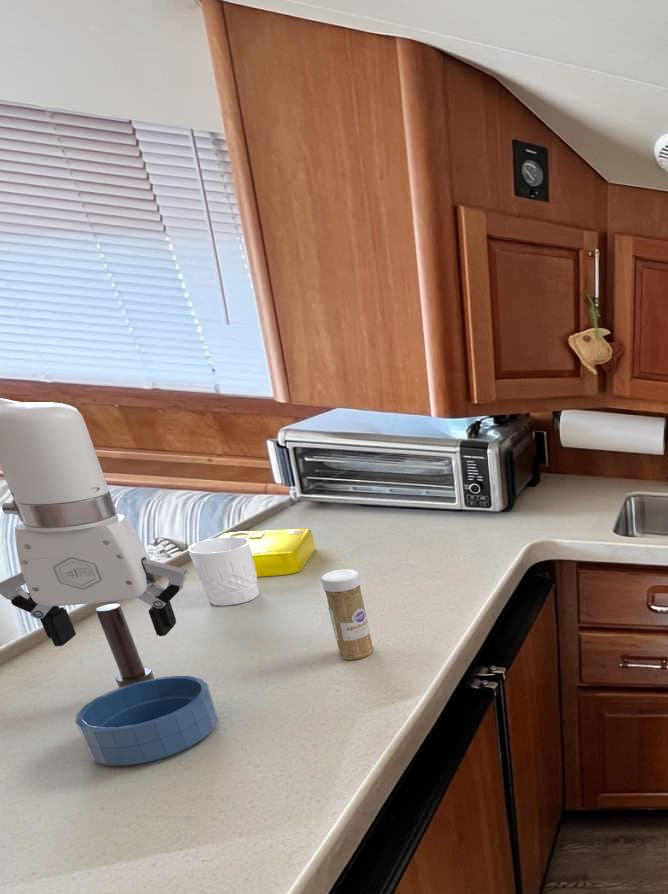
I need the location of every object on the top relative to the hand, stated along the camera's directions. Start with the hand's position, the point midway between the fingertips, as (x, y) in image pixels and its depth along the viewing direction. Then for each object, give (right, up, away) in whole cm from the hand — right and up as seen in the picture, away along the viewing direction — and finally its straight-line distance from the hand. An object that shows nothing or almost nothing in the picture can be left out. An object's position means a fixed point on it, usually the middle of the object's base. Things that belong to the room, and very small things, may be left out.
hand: (117, 636), depth 82 cm
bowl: (+10, -12, -4) cm, 16 cm away
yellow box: (-17, +10, +43) cm, 47 cm away
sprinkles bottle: (+20, -5, +16) cm, 26 cm away
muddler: (-1, -8, +3) cm, 9 cm away
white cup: (-11, +3, +29) cm, 31 cm away
